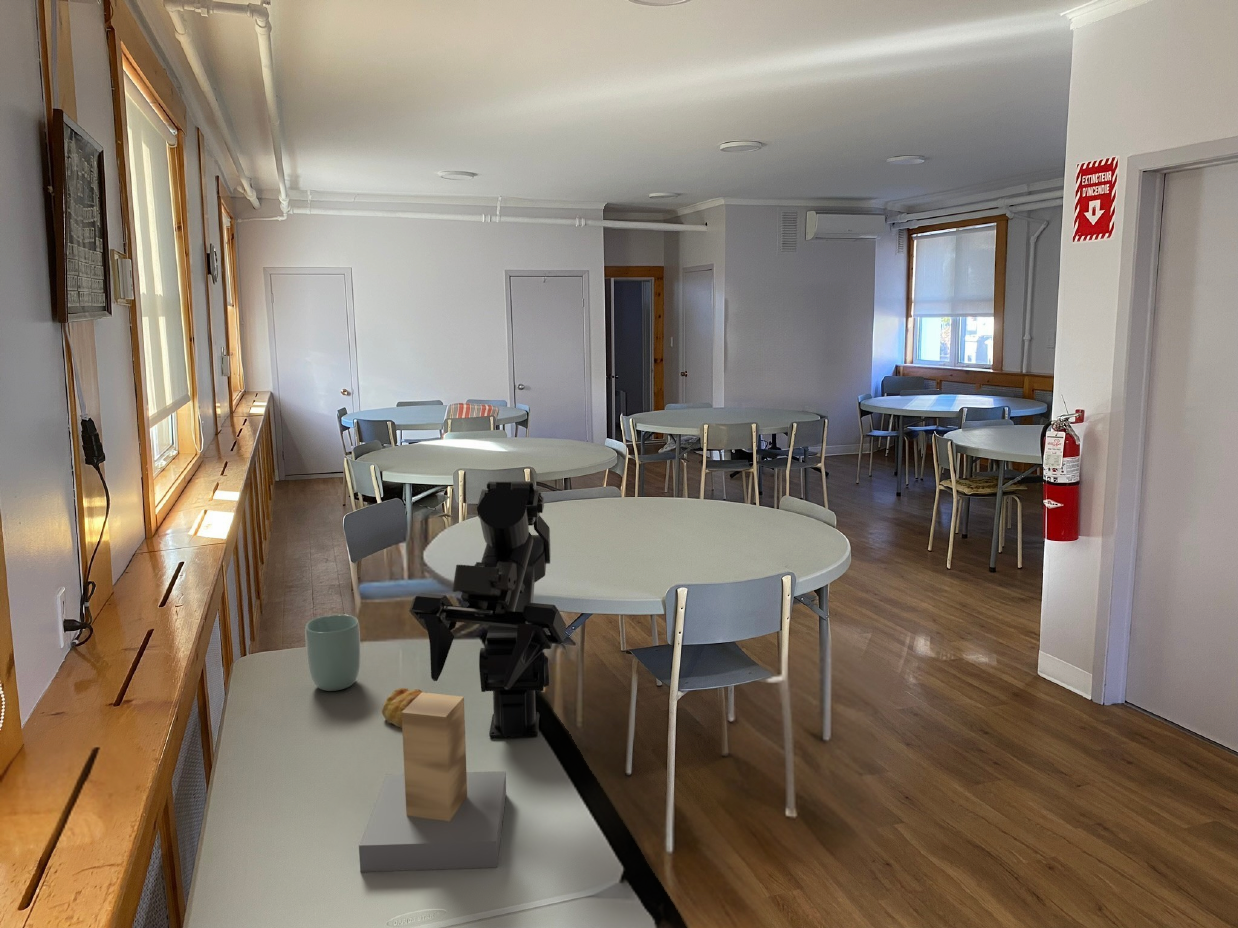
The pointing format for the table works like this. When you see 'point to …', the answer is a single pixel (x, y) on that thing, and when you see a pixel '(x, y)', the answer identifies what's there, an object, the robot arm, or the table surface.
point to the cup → (333, 651)
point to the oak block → (434, 756)
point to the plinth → (435, 829)
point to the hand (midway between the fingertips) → (469, 683)
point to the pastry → (398, 704)
